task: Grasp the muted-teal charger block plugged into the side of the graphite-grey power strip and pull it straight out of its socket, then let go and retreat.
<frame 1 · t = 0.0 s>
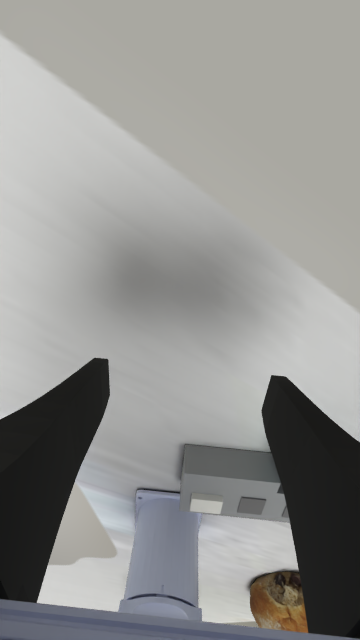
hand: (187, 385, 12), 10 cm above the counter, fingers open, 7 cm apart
power strip: (274, 472, 29), on the counter
bread roll: (281, 583, 40), on the counter
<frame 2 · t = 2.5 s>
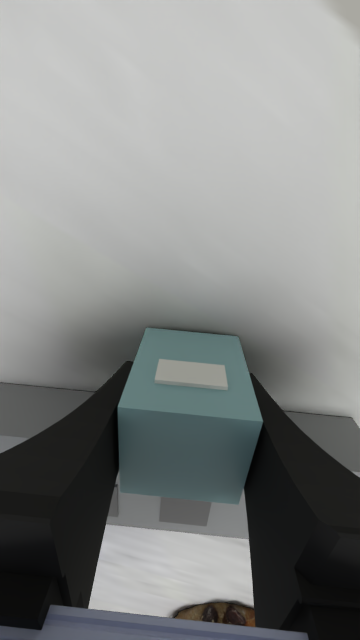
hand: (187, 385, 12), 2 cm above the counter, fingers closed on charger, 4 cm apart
power strip: (162, 438, 16), on the counter
charger: (185, 417, 11), point 3 cm above the counter, slide at 0.0 cm, touching gripper
bread roll: (219, 617, 27), on the counter
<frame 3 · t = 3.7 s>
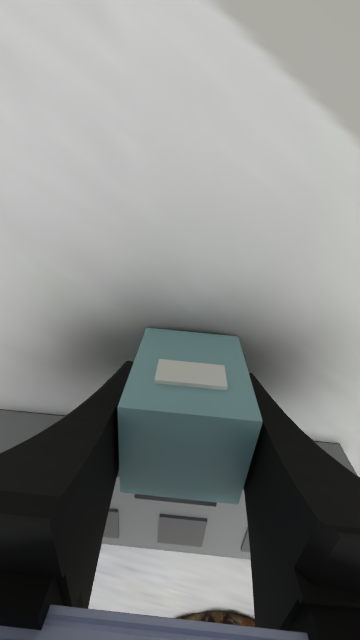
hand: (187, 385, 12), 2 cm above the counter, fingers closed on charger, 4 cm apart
power strip: (160, 461, 17), on the counter
charger: (184, 417, 11), point 3 cm above the counter, slide at 2.0 cm, touching gripper
bread roll: (217, 625, 28), on the counter
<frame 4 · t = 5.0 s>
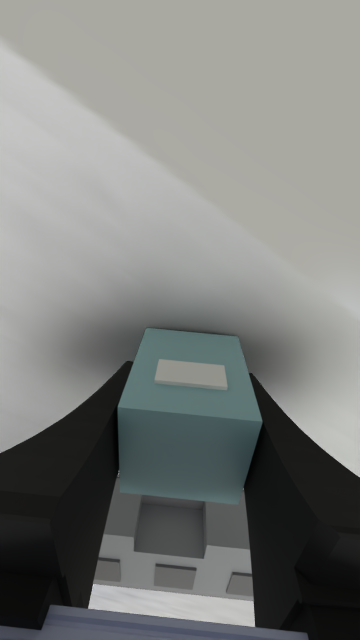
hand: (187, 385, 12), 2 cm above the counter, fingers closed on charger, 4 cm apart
power strip: (157, 509, 19), on the counter
charger: (184, 417, 11), point 3 cm above the counter, slide at 7.0 cm, touching gripper
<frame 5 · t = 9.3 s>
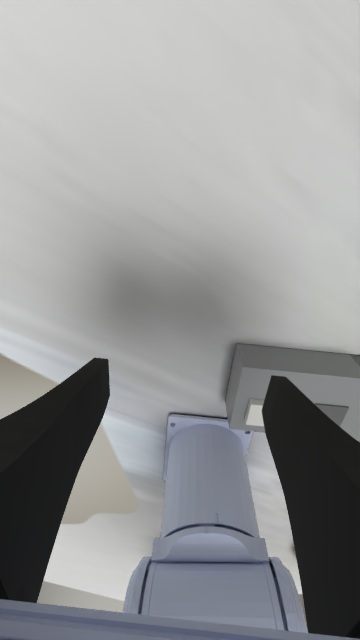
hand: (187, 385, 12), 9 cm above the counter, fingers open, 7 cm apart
power strip: (348, 385, 23), on the counter
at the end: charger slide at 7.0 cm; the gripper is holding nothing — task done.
